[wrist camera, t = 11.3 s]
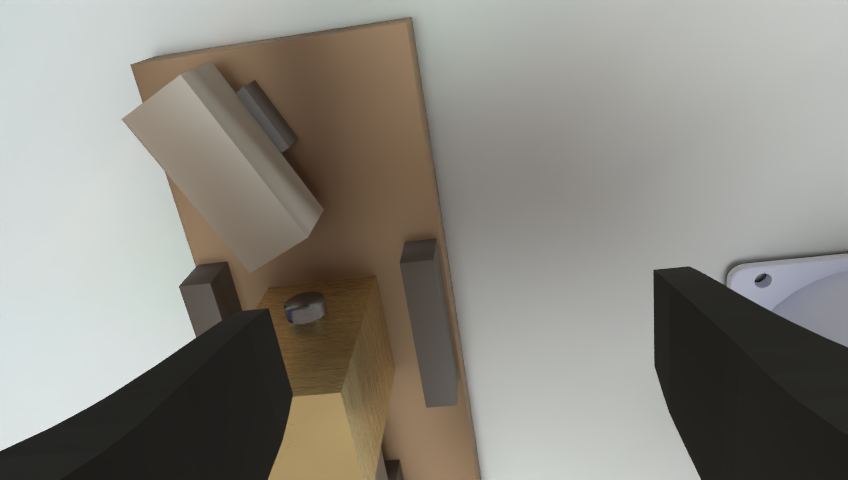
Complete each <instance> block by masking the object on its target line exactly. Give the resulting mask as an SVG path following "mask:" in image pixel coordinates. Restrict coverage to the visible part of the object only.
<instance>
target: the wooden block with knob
mask: <svg viewBox="0 0 848 480" xmlns="http://www.w3.org/2000/svg"><path fill="white" fill-rule="evenodd" d="M265 308H269V311H270V315H271V318H272V322H273V325H274V329H275V332H276V336H277V339H278V343H279V346H280V350H281V354H282V357H283V361H284V364H285V368H286V371H287V375H288V378H289V382H290V385H291V389H292V393H293V398H292V403H291V407H290V412H289V417H288V421H287V425H286V429H285V433H284V437H283V441H282V444H281V446H280V449H279V452H278V454H277V457H276V459H275V462H274V465H273V467H272V470H271V472H270V475H269V478H268V480H375V475H376V470H377V465H378V460H379V454H380V449H381V444H382V438H383V433H384V428H385V422H386V417H387V412H388V407H389V401H390V396H391V391H392V385H393V380H394V375H395V370H396V368H395V364H394V359H393V354H392V349H391V345H390V340H389V335H388V330H387V325H386V321H385V316H384V311H383V306H382V302H381V297H380V292H379V287H378V282H377V278H376V276H368V277H359V278H350V279H341V280H332V281H323V282H314V283H304V284H295V285H286V286H277V287H268V289H267V291H266V292H265V294H264V295H263V297H262V299H261V300H260V302H259V304H258V305H257V307H256V309H265Z"/></svg>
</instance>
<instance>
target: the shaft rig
mask: <svg viewBox="0 0 848 480" xmlns="http://www.w3.org/2000/svg"><path fill="white" fill-rule="evenodd" d="M131 68H132V71H133V74H134V77H135V80H136V83H137V86H138V89H139V93H140V96H141V99H142V102H143V103H142V104H141V105H140V106H138V107H137V108H136V109H134V110H133V111H132V112H131V113H129V114H128V115H127V116H125V117H124V118H123V119H122V120H123V122H124V123H125V124H126V125H127V126H128V128H129V129H130V130H131V131H132V132H133V134H134V135H135V136H136V137H137V138H138V140H139V141H140V142H141V143H142V144H143V146H144V147H145V148H146V149H147V150H148V152H149V153H150V154H151V155H152V156H153V158H154V159H155V160H156V161H157V162H158V164H159V165H160V166H161V167H162V168H163V170H164V171H165V173H166V176H167V179H168V182H169V185H170V188H171V191H172V194H173V197H174V201H175V204H176V207H177V210H178V213H179V216H180V219H181V222H182V225H183V228H184V231H185V234H186V238H187V241H188V244H189V247H190V250H191V253H192V256H193V259H194V262H195V265H196V268H195V269H194V270H193V271H192V272H191V273H190V275H189V276H188V277H187V278H186V279H185V280H184V281H183V283H182V284H181V285H180V286H179V288H180V291H181V294H182V297H183V300H184V303H185V306H186V309H187V311H188V314H189V317H190V320H191V323H192V326H193V329H194V332H195V335H196V338H197V337H198V336H200V335H201V334H202V333H204V332H205V331H207V330H208V329H210V328H211V327H213V326H214V325H216V324H217V323H219V322H220V321H222V320H224V319H225V318H227V317H229V316H230V315H232V314H234V313H236V312H238V311H245V310H255V309H256V307H257V305H258V304H259V302H260V300H261V299H262V297H263V295H264V294H265V292H266V291H267V289H268V287H277V286H286V285H295V284H304V283H314V282H323V281H332V280H341V279H350V278H359V277H368V276H376V278H377V282H378V287H379V292H380V297H381V302H382V306H383V311H384V316H385V321H386V325H387V330H388V335H389V340H390V345H391V349H392V354H393V359H394V364H395V368H396V370H395V375H394V380H393V385H392V391H391V396H390V401H389V407H388V412H387V417H386V422H385V428H384V433H383V438H382V444H381V449H380V454H379V460H378V465H377V470H376V475H375V480H481V475H480V469H479V462H478V455H477V449H476V442H475V436H474V429H473V422H472V416H471V409H470V402H469V396H468V389H467V383H466V376H465V369H464V363H463V356H462V349H461V343H460V336H459V330H458V323H457V316H456V310H455V303H454V296H453V290H452V283H451V277H450V270H449V263H448V257H447V250H446V243H445V237H444V230H443V224H442V217H441V210H440V204H439V197H438V190H437V184H436V177H435V171H434V164H433V157H432V151H431V144H430V137H429V131H428V124H427V118H426V111H425V104H424V98H423V91H422V84H421V78H420V71H419V65H418V58H417V51H416V45H415V38H414V31H413V25H412V18H411V17H410V18H403V19H397V20H390V21H384V22H377V23H371V24H364V25H358V26H351V27H345V28H338V29H332V30H325V31H319V32H312V33H306V34H299V35H293V36H286V37H280V38H273V39H267V40H260V41H254V42H247V43H241V44H234V45H228V46H221V47H215V48H208V49H202V50H195V51H189V52H182V53H176V54H169V55H163V56H156V57H152V58H149V59H146V60H143V61H140V62H137V63H134V64H131Z"/></svg>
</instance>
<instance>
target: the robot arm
mask: <svg viewBox="0 0 848 480" xmlns="http://www.w3.org/2000/svg"><path fill="white" fill-rule="evenodd" d="M763 273H765V274H767V276H766V278H765V279H764V280H763V281H761V282H754V281H755V279H756V277H757V276H758V275H760V274H763ZM654 358H655V369H656V372H657V375H658V378H659V382H660V385H661V388H662V392H663V395H664V398H665V401H666V404H667V407H668V410H669V413H670V415H671V417H672V419H673V421H674V424H675V426H676V428H677V430H678V432H679V434H680V436H681V438H682V441H683V443H684V445H685V447H686V449H687V451H688V453H689V455H690V457H691V459H692V462H693V464H694V466H695V468H696V470H697V472H698V474H699V476H700V478H701V480H848V253H847V254H837V255H827V256H816V257H806V258H796V259H786V260H776V261H766V262H756V263H745V264H740V265H737V266H735V267H734V268H732V269H731V271H730V272H729V273H728V276H727V286H725V285H723V284H721V283H719V282H718V281H716V280H714V279H712V278H711V277H709V276H707V275H705V274H703V273H701V272H700V271H698V270H696V269H693V268H691V267H679V268H669V269H659V270H654ZM292 398H293V393H292V389H291V385H290V382H289V378H288V375H287V371H286V368H285V364H284V361H283V357H282V354H281V350H280V346H279V343H278V339H277V336H276V332H275V329H274V325H273V322H272V318H271V315H270V311H269V308H265V309H255V310H245V311H238V312H236V313H234V314H232V315H230V316H229V317H227V318H225V319H224V320H222V321H220V322H219V323H217V324H216V325H214V326H213V327H211V328H210V329H208V330H207V331H205V332H204V333H202V334H201V335H200V336H198V337H197V338H195V339H194V340H192V341H191V342H189V343H188V344H187V345H185V346H184V347H182V348H181V349H179V350H178V351H176V352H175V353H174V354H172V355H171V356H169V357H168V358H166V359H165V360H163V361H162V362H161V363H159V364H158V365H156V366H154V367H153V368H151V369H150V370H148V371H147V372H145V373H144V374H142V375H141V376H139V377H137V378H136V379H134V380H133V381H131V382H130V383H128V384H127V385H125V386H123V387H122V388H120V389H119V390H117V391H116V392H114V393H113V394H111V395H109V396H108V397H106V398H104V399H103V400H101V401H99V402H97V403H96V404H94V405H92V406H90V407H89V408H87V409H85V410H83V411H81V412H79V413H78V414H76V415H74V416H72V417H70V418H68V419H66V420H65V421H63V422H61V423H59V424H57V425H55V426H53V427H51V428H49V429H47V430H45V431H43V432H41V433H39V434H37V435H34V436H32V437H30V438H28V439H26V440H24V441H21V442H19V443H17V444H15V445H13V446H11V447H8V448H6V449H4V450H2V451H0V480H268V478H269V475H270V472H271V470H272V467H273V465H274V462H275V459H276V457H277V454H278V452H279V449H280V446H281V444H282V441H283V437H284V433H285V429H286V425H287V421H288V417H289V412H290V407H291V403H292Z"/></svg>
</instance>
